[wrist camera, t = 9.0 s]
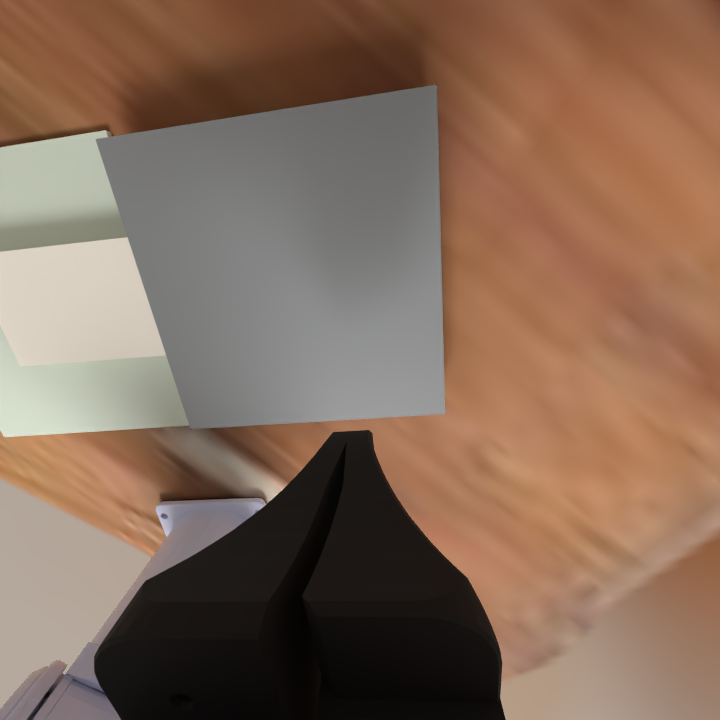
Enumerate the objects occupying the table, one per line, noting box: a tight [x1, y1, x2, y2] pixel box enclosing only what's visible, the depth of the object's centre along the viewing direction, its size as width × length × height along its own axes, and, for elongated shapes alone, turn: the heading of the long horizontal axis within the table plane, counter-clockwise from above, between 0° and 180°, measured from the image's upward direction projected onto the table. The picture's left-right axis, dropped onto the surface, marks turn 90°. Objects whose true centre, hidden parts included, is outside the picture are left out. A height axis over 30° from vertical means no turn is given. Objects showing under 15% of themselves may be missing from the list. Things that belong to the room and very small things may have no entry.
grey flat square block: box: [95, 85, 445, 429], centre depth 17 cm, size 14×14×2 cm
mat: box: [0, 130, 189, 437], centre depth 19 cm, size 16×14×1 cm
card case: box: [0, 237, 166, 366], centre depth 18 cm, size 6×9×2 cm, turn 96°
